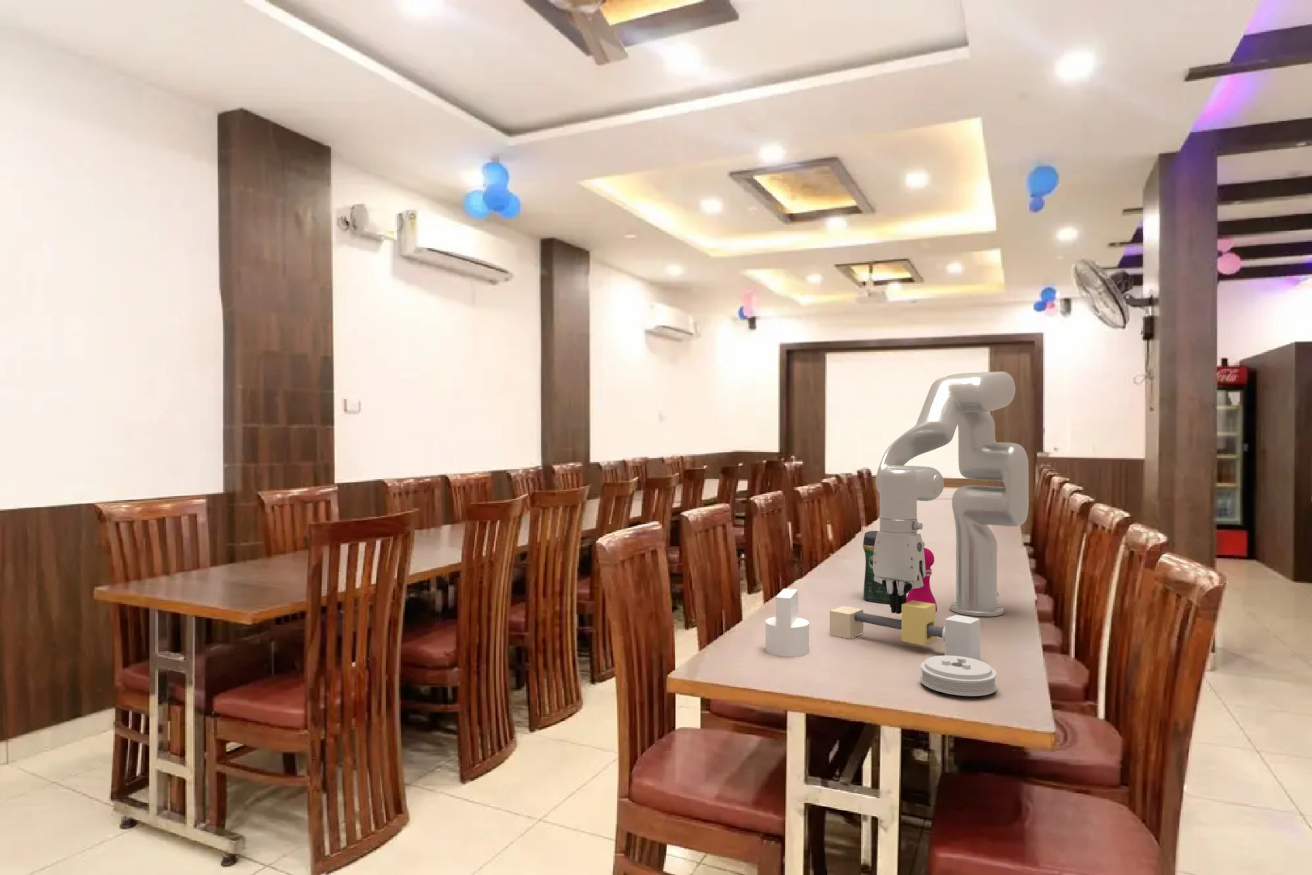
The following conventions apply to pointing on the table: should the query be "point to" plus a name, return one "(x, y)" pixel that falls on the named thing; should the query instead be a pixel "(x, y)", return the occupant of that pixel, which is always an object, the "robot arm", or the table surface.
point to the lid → (958, 675)
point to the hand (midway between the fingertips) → (898, 612)
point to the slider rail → (849, 623)
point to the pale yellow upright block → (918, 622)
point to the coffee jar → (872, 573)
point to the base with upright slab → (787, 627)
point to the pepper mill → (924, 582)
